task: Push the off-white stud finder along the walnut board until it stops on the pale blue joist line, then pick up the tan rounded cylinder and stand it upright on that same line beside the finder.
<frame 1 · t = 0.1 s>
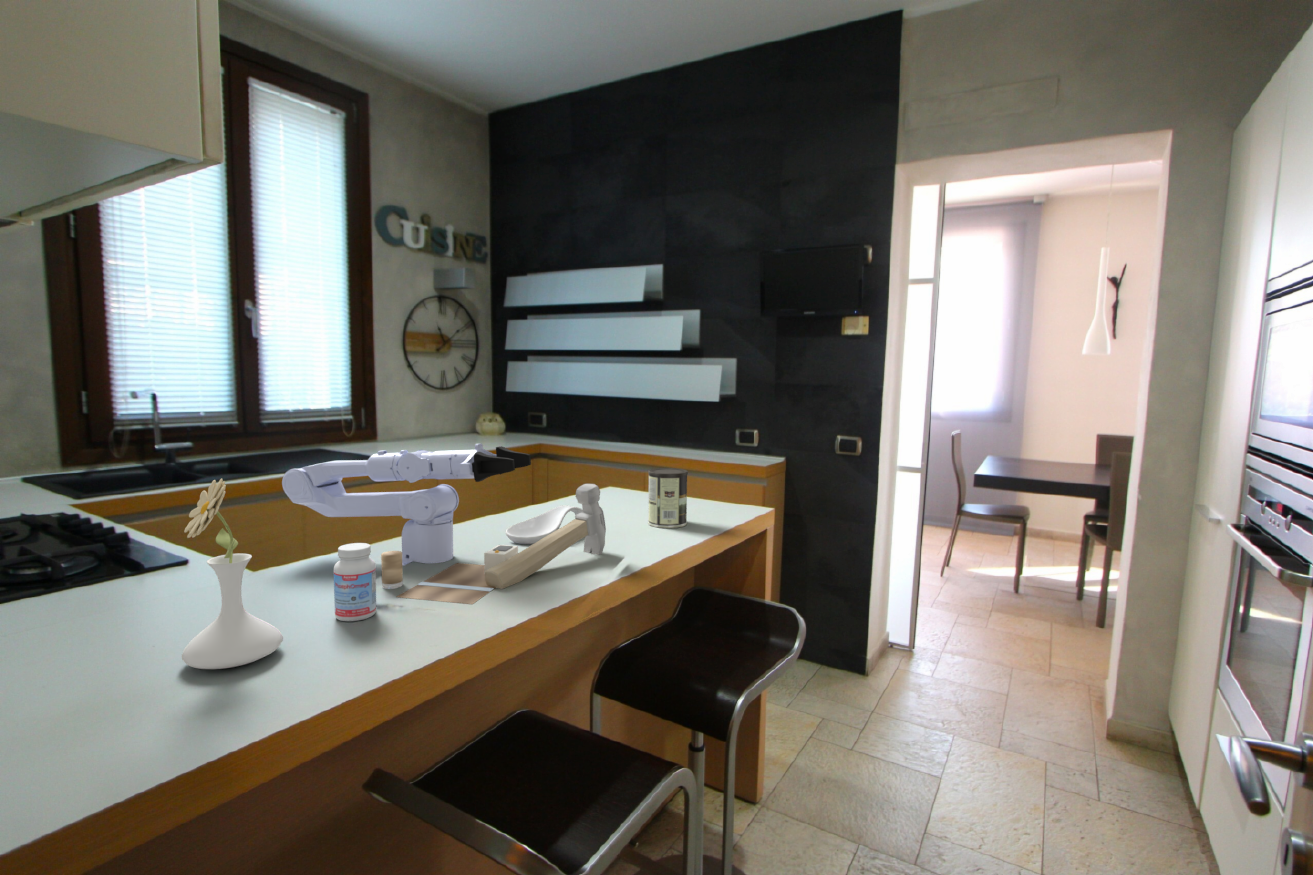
hand: (522, 462, 124), 22 cm above the breakfast bar, tool horizontal, fingers open, 7 cm apart
flower in vase: (233, 662, 85), on the breakfast bar
spoon rest: (550, 540, 151), on the breakfast bar
stud finder: (501, 558, 121), point 4 cm above the breakfast bar, slide at 0.0 cm
hammer: (550, 576, 125), on the breakfast bar, touching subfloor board
tan rounded cylinder: (392, 592, 113), on the breakfast bar
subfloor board: (463, 587, 115), on the breakfast bar
pill bottle: (356, 616, 102), on the breakfast bar
coffee can: (667, 524, 167), on the breakfast bar
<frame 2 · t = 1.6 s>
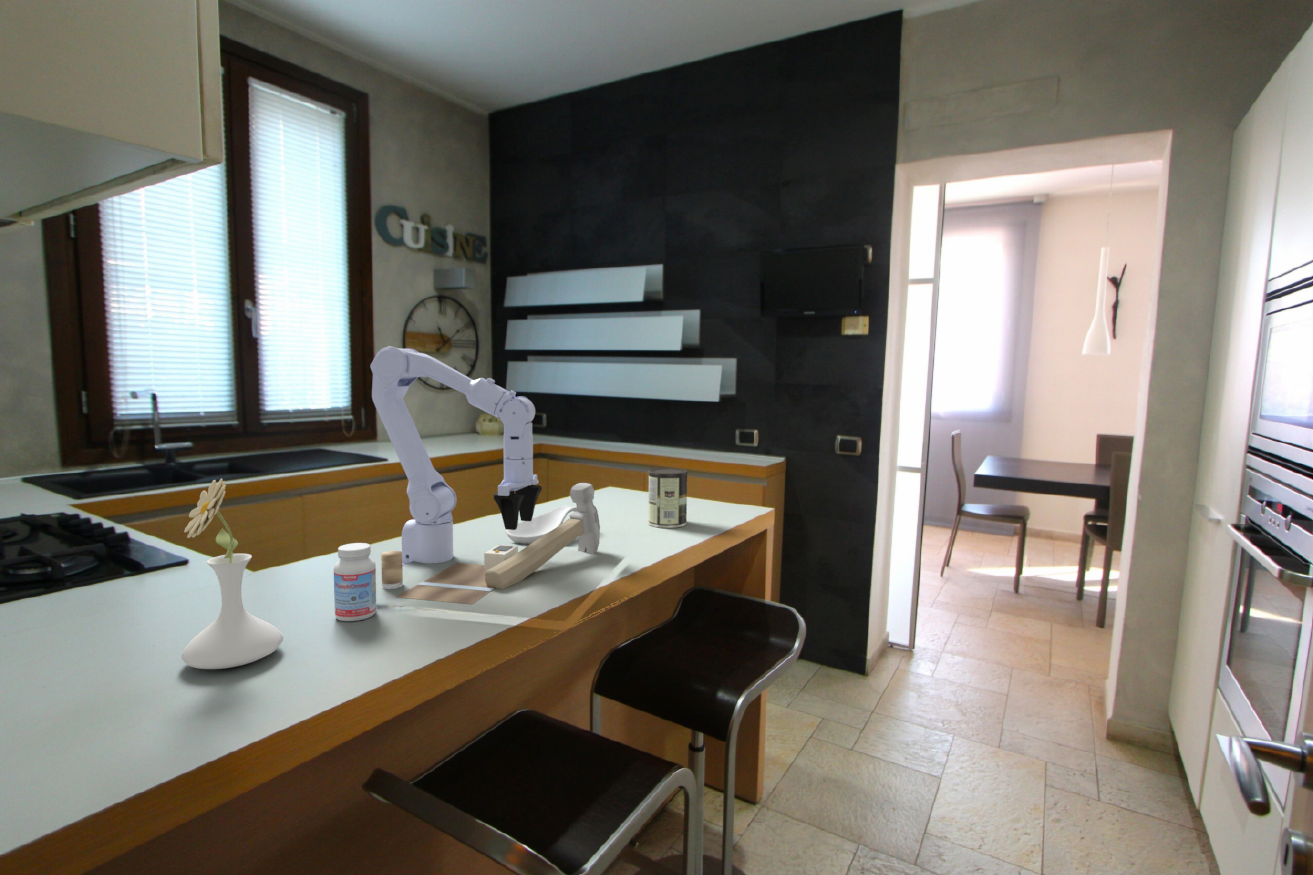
hand: (518, 524, 128), 8 cm above the breakfast bar, tool pointing down, fingers open, 7 cm apart
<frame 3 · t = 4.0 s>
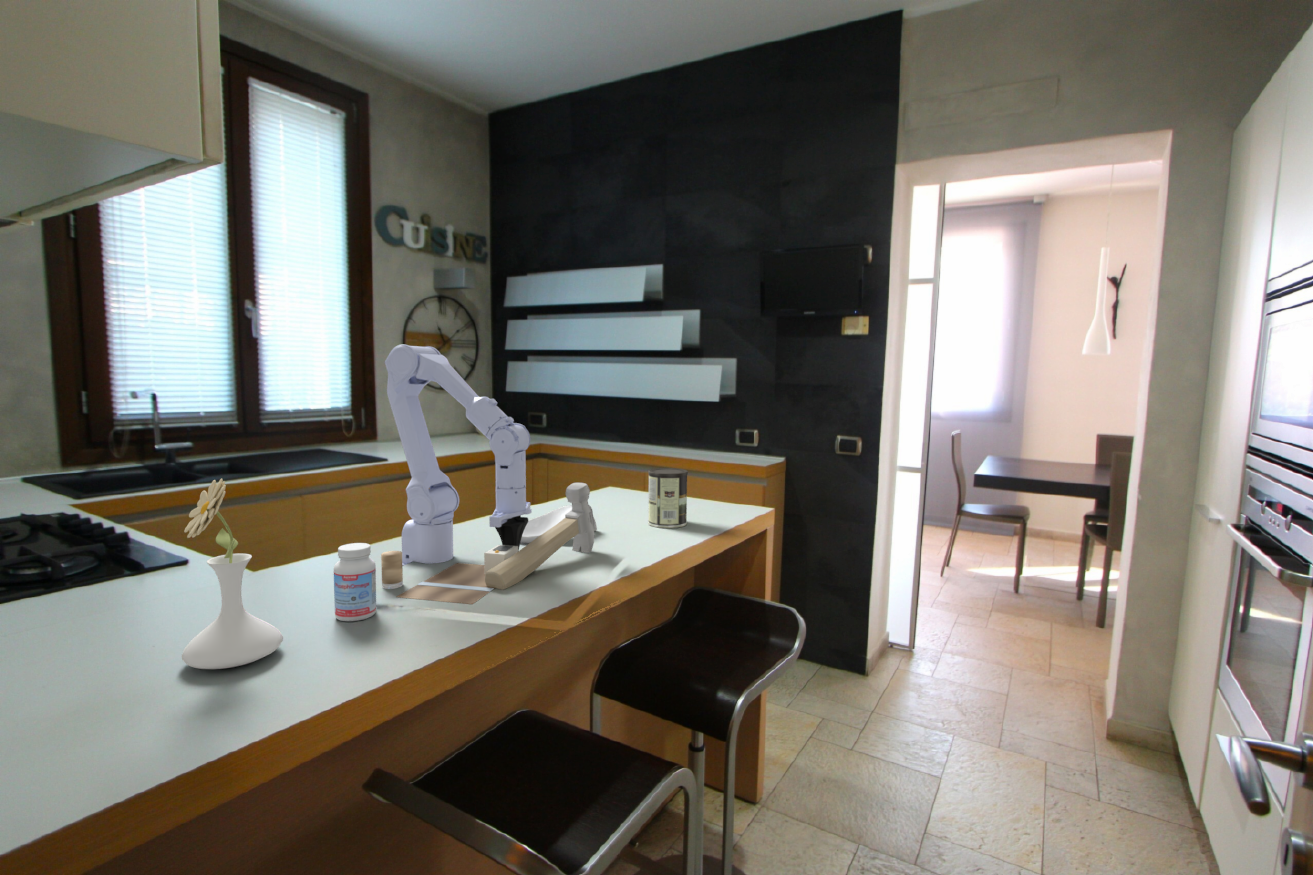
hand: (511, 555, 125), 3 cm above the breakfast bar, tool pointing down, fingers closed
stud finder: (501, 558, 121), point 4 cm above the breakfast bar, slide at 0.0 cm, touching gripper
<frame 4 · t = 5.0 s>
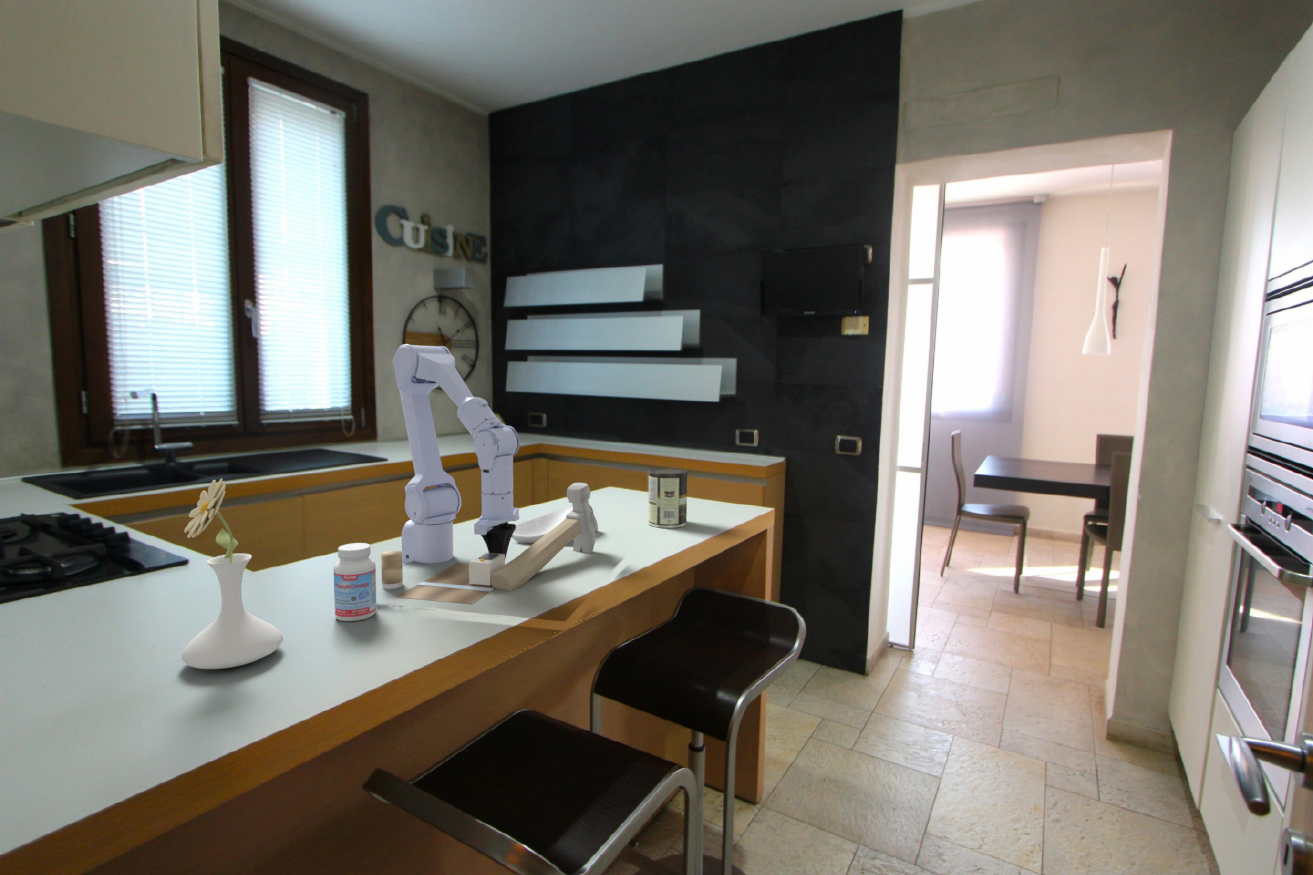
hand: (498, 563, 119), 3 cm above the breakfast bar, tool pointing down, fingers closed
stud finder: (487, 567, 115), point 4 cm above the breakfast bar, slide at 5.7 cm, touching gripper
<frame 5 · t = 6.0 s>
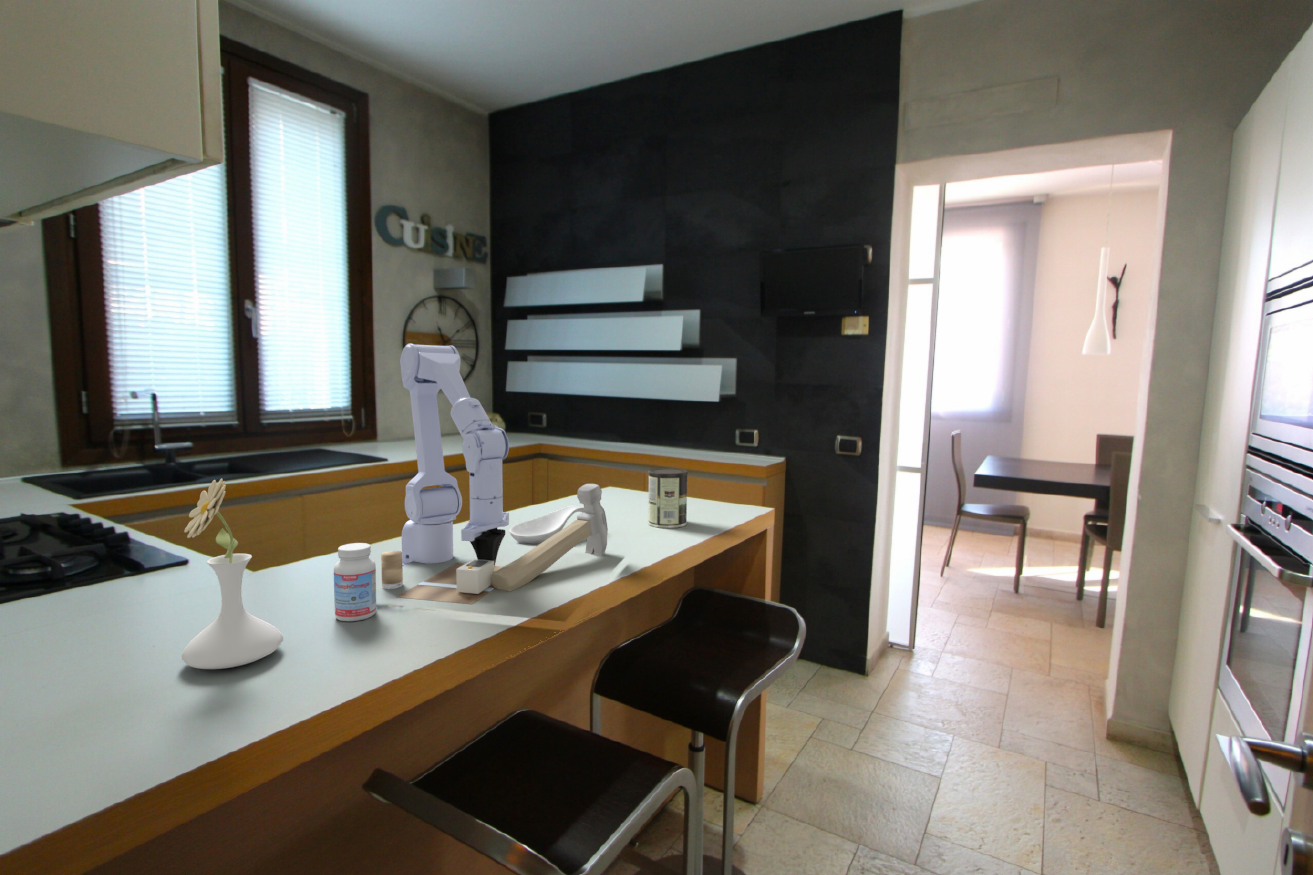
hand: (487, 570, 115), 3 cm above the breakfast bar, tool pointing down, fingers closed
stud finder: (475, 574, 111), point 4 cm above the breakfast bar, slide at 10.1 cm, touching gripper
hammer: (555, 577, 124), on the breakfast bar, touching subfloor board
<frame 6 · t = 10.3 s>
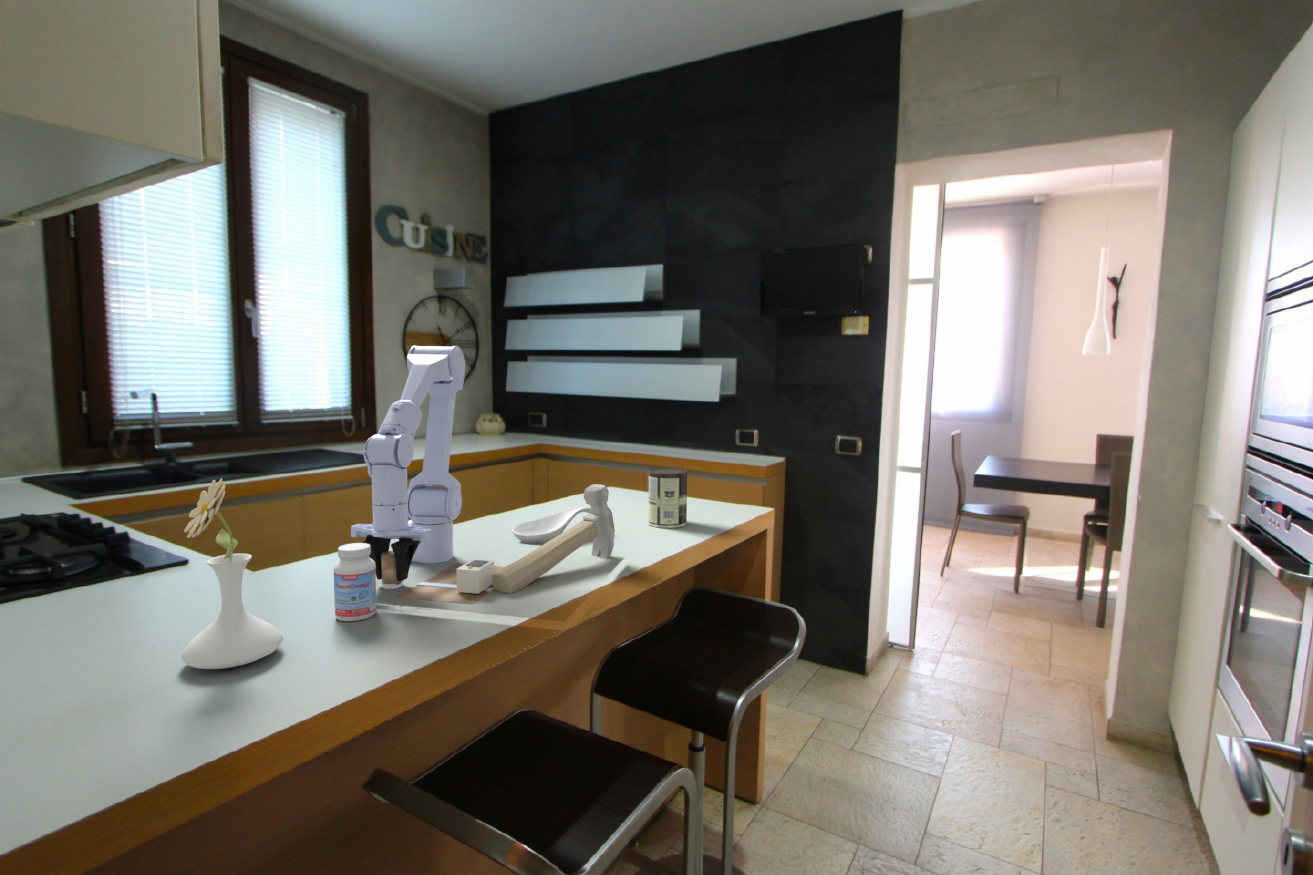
hand: (392, 578, 112), 2 cm above the breakfast bar, tool pointing down, fingers closed on tan rounded cylinder, 3 cm apart
stud finder: (475, 574, 111), point 4 cm above the breakfast bar, slide at 10.0 cm
hammer: (558, 578, 122), on the breakfast bar
tan rounded cylinder: (392, 592, 113), on the breakfast bar, touching gripper
when the fingers open (5 cm above the breakfast bar, at t = 13.7 s): tan rounded cylinder drops 1 cm, resting on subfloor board.
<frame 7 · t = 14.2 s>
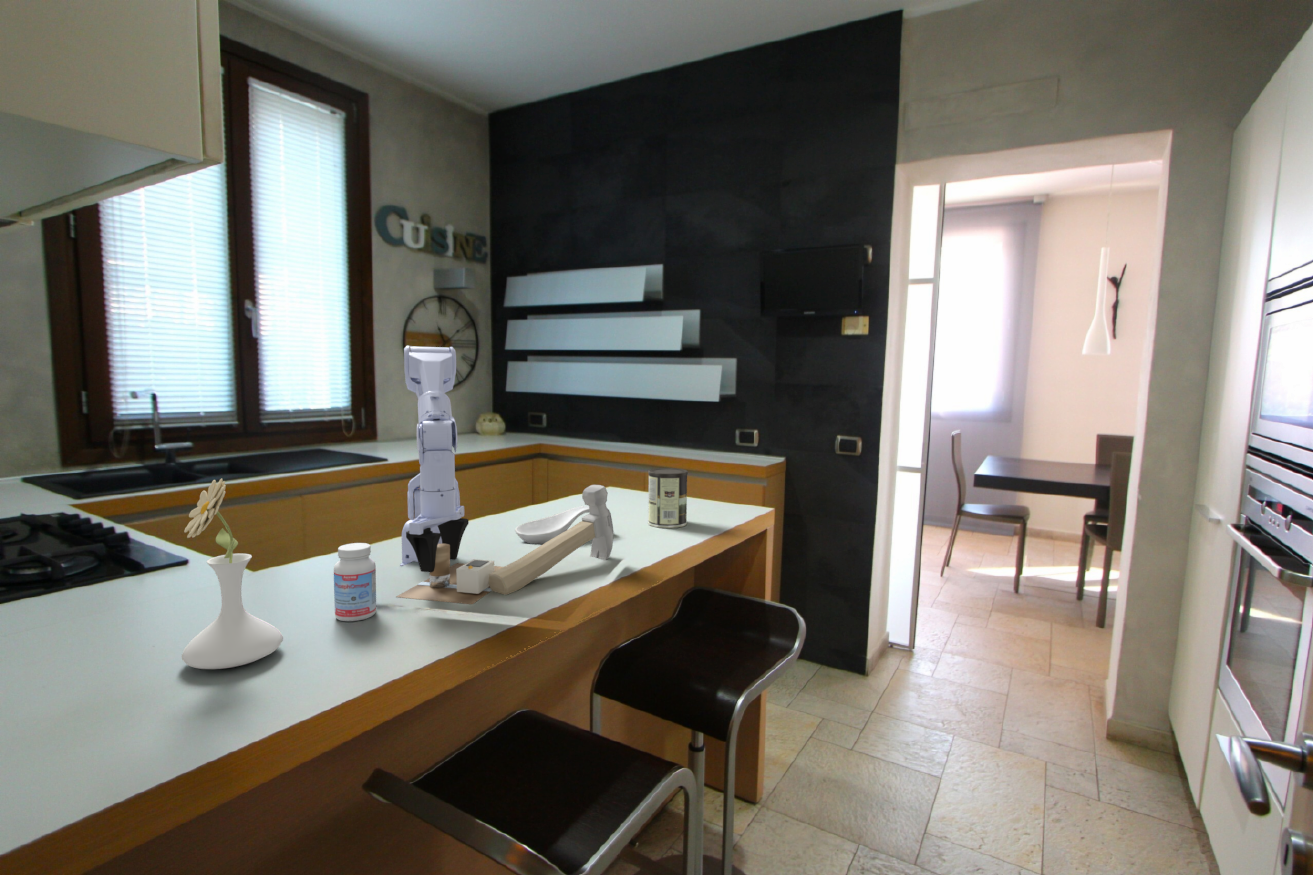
hand: (439, 564, 112), 5 cm above the breakfast bar, tool pointing down, fingers open, 7 cm apart
tan rounded cylinder: (439, 584, 113), point 1 cm above the breakfast bar, touching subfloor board
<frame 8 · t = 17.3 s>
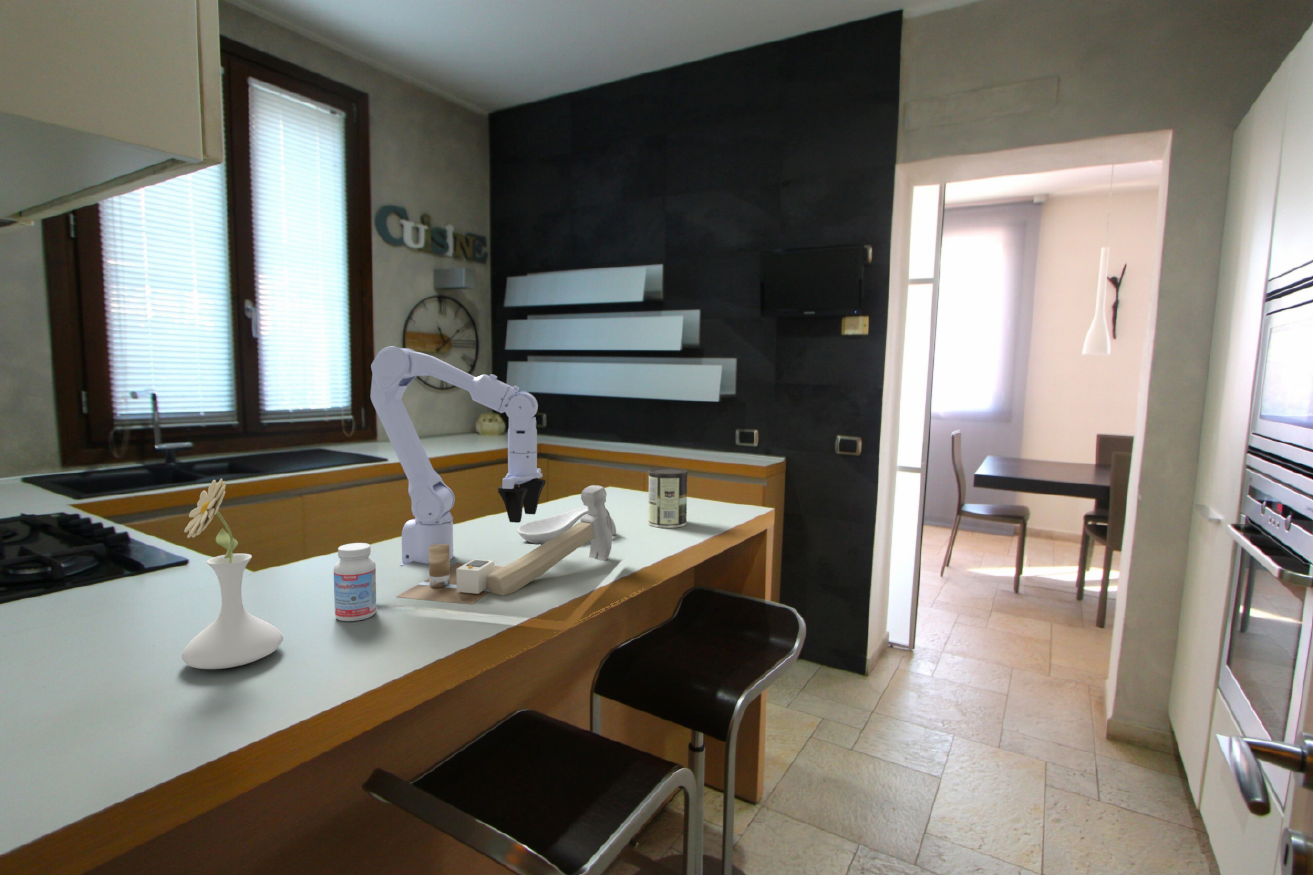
hand: (522, 517, 130), 9 cm above the breakfast bar, tool pointing down, fingers open, 7 cm apart
at the end: stud finder slide at 10.0 cm; tan rounded cylinder 0.0 cm from the target spot, point 1.3 cm above the breakfast bar; tan rounded cylinder tilted 0° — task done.
